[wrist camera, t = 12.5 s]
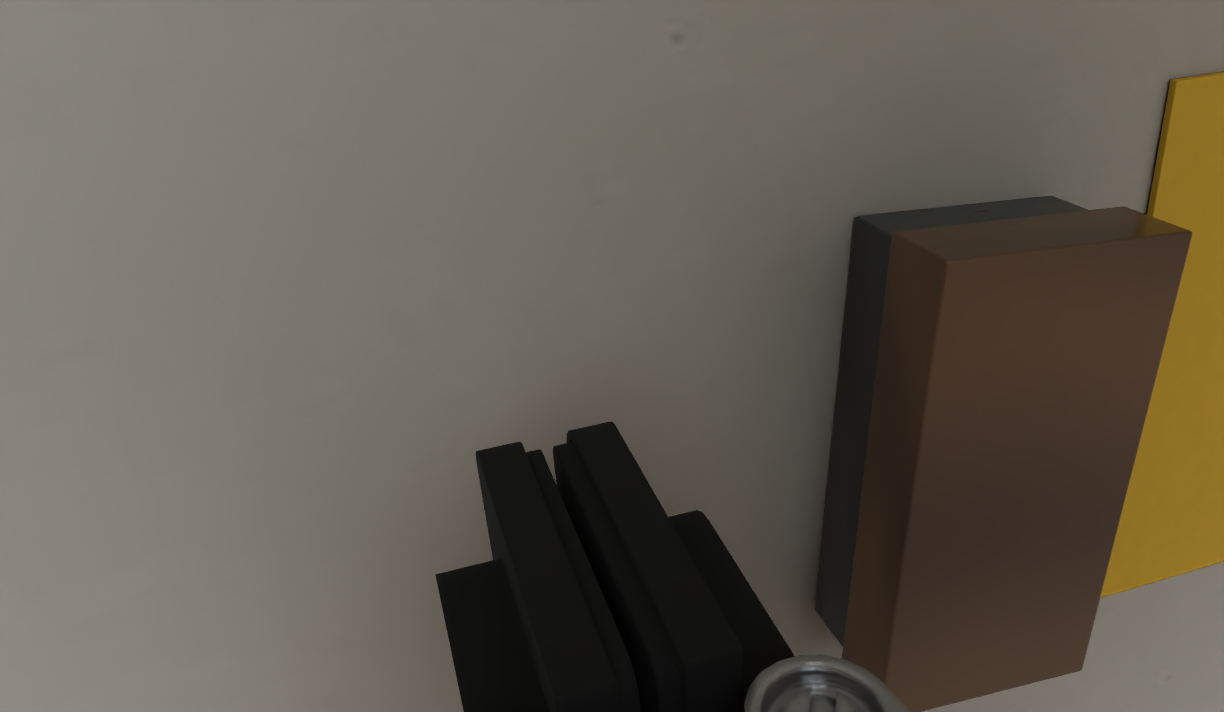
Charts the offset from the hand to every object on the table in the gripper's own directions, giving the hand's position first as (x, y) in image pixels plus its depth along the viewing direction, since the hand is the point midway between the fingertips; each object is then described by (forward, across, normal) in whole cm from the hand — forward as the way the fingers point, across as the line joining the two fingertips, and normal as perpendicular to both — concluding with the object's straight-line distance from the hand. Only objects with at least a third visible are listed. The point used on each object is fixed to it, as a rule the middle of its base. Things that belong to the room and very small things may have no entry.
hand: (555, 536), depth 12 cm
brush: (+5, -8, +3) cm, 10 cm away
